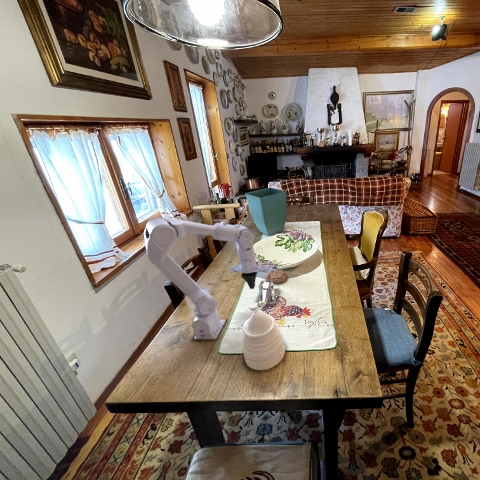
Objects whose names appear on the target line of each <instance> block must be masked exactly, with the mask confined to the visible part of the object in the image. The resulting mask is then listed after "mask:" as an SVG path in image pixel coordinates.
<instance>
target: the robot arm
mask: <svg viewBox="0 0 480 480" xmlns="http://www.w3.org/2000/svg"><path fill="white" fill-rule="evenodd" d="M143 235H144V242H145V243H144V244H145V253H146V257H147V260H149V262H150V263H151V264H153V265H154V267H156V268H157V269H158V270H159V272H161V273H162V274H163V275H164V276H165V277H167V279H169V280H170V281H171V283H173V284H174V286H176V287H177V288H178V289H179V290H180V291H181V292H182V293H183V294H185V296H187V297H188V299H189V300H190V301H191V302H192V304H193V305H194V310H193V311H194V319H193V321H192V323H191V328H192V331H193V333H194V337H193V339H194V340H216V339H217V337H218V336H219V333H220V332H221V331H222V328H223V327H224V325H225V323H226V319H221V318H220V314H219V310H218V303H217V300H216V299H215V298H214V297H213V296H212V295H211V293H210V291H209V290H208V289H207V287H203V286H201V285H200V284H199V283H197V282H196V281H195V280H194V279H193V278H192V277H191V276H190V275H189V274H188V273H187V272H186V271H185V270H184V269H183V268H182V267H181V266H180V265H179V264H178V262H176V261H175V260H174V259H173V258H172V256H170V254H169V250H170V248H171V247H172V245H173V244H174V243H175V241H176V239H177V238H178V239H179V240H180V239H182V238H183V237H184V236H186V235H200V236H212V238H213V239H214V240H217V241H225V242H231V243H232V242H234V243H235V244H236V250H237V255H238V260H239V264H238V265H231V266H230V267H229V273H230V274H234V273H241V275H240V276H241V278H242V279H243V280H244V281H245V283H246V284H247V285H248V287H249V289H250V290H254V289H255V287H256V279H257V274H258V273H265V274H268V273H269V272H270V271H269V265H263V264H257V260H256V256H255V255H256V254H255V249H254V244H253V241H254V239H255V234H254V233H253V231H252V230H251V229H250V228H248V227H246V226H245V225H242V224H228V223H227V222H226V221H221V222H216V223H215V224H213V225H211V224H205V223H200V222H195V221H190V220H184V219H177V218H172V217H167V218H165V217H153V218H150V219H149V220H148V222H147V223H146V226H145V228H144V232H143Z"/></svg>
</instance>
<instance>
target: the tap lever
mask: <svg viewBox="0 0 480 480" xmlns="http://www.w3.org/2000/svg"><path fill="white" fill-rule="evenodd" d="M269 283H270V282H264V284H263V290H264V293H263V298H262V301H261V302H260V305H259V307H260V308H265V307H266V306H267V305H266V302H265V299H266V294H267V291H269V289H268V286H269Z"/></svg>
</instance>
